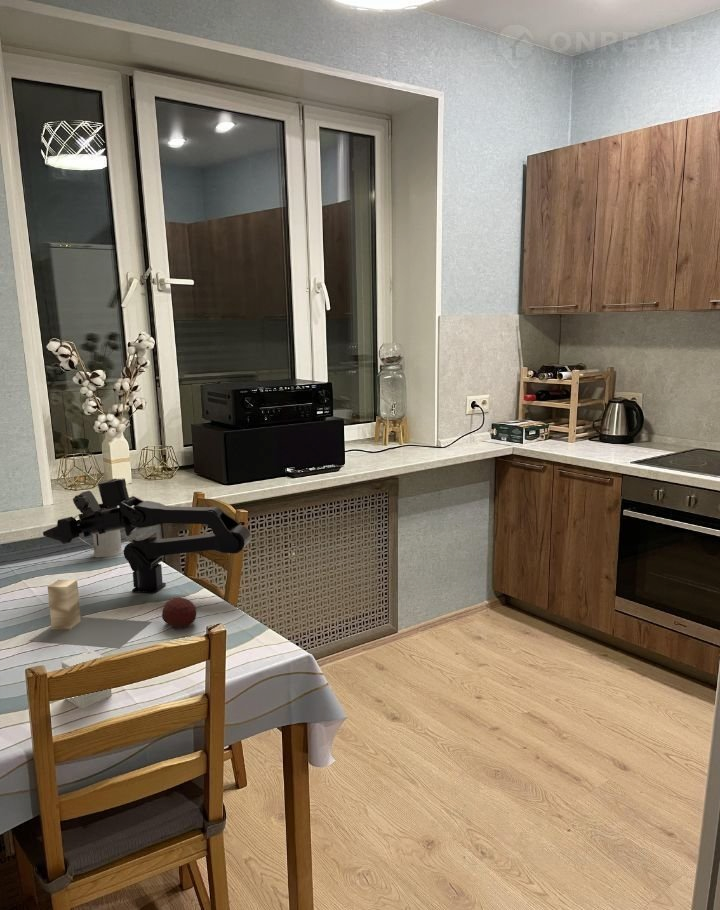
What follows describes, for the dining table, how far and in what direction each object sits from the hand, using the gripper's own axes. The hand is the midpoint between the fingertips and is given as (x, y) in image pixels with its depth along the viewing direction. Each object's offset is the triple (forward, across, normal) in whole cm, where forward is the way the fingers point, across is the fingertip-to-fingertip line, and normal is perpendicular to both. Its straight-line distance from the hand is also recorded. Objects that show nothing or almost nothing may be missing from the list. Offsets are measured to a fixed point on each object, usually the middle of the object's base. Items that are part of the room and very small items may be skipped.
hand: (53, 530), depth 181 cm
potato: (-38, +20, +25) cm, 50 cm away
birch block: (-13, +24, +20) cm, 34 cm away
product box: (-33, +53, +27) cm, 68 cm away
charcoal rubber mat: (-20, +26, +22) cm, 40 cm away
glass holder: (+5, -29, +12) cm, 32 cm away
